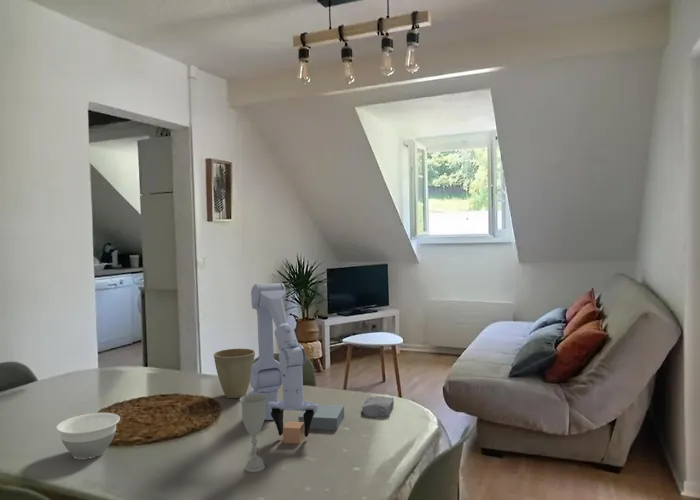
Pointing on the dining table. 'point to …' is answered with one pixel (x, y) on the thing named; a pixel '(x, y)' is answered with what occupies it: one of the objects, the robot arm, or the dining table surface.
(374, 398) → the stone block
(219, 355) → the plant pot
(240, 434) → the dining table surface
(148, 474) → the dining table surface
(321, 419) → the slate box
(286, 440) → the terracotta block
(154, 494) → the dining table surface
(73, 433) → the bowl
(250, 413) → the chalice
